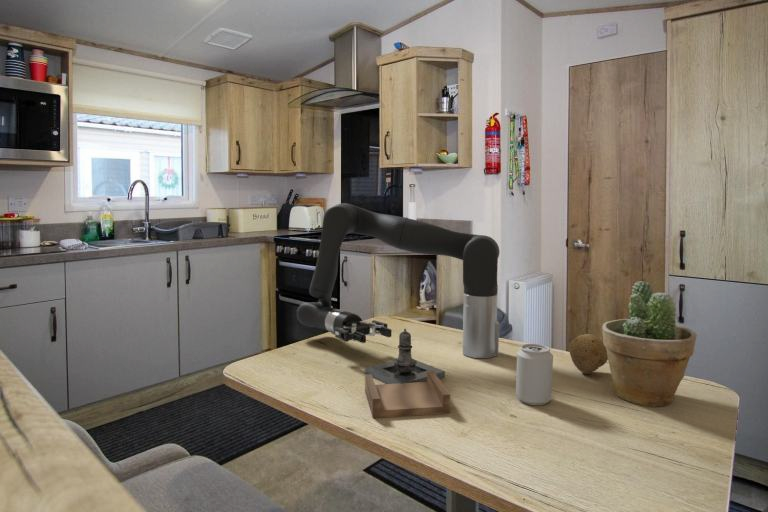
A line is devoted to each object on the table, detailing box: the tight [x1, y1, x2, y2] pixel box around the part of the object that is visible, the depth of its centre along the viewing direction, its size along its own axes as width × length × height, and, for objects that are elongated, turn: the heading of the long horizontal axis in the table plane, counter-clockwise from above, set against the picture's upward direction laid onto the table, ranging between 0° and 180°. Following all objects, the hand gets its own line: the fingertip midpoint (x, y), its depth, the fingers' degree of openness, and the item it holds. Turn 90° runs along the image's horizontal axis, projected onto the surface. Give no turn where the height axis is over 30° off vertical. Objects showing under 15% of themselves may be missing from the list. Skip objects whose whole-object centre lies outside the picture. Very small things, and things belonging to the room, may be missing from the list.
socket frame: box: [364, 359, 446, 384], centre depth 127 cm, size 14×14×2 cm
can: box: [515, 343, 554, 406], centre depth 112 cm, size 8×8×12 cm
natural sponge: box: [568, 333, 608, 375], centre depth 129 cm, size 9×9×10 cm
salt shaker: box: [392, 328, 418, 378], centre depth 127 cm, size 6×6×12 cm
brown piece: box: [364, 371, 451, 419], centre depth 111 cm, size 16×14×4 cm
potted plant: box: [601, 281, 698, 408], centre depth 113 cm, size 18×19×25 cm
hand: (377, 336), depth 135 cm, fingers open, 8 cm apart
